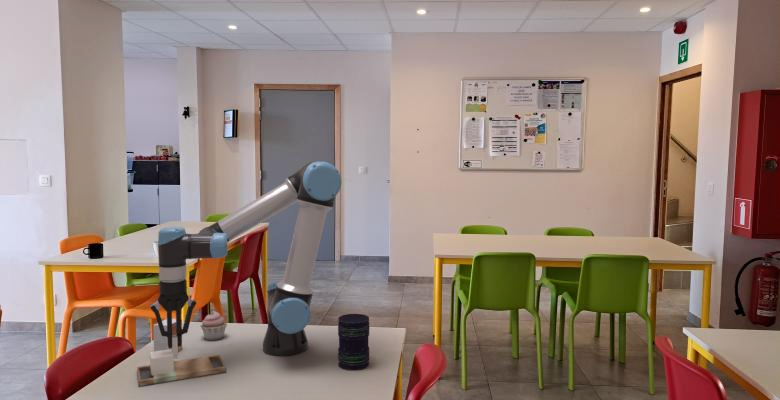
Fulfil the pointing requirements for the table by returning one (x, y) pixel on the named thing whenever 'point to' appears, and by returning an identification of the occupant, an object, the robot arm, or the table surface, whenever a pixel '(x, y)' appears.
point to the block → (161, 362)
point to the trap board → (183, 370)
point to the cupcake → (213, 326)
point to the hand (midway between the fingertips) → (174, 357)
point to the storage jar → (353, 342)
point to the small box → (162, 341)
